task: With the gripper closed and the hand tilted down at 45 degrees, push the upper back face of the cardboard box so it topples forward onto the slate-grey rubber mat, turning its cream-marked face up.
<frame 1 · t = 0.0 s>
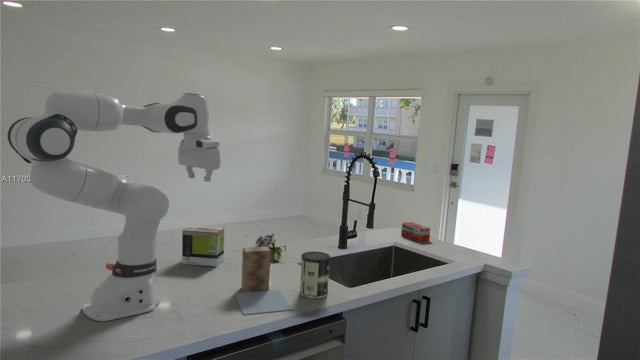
hand: (199, 179, 154), 39 cm above the worktop, fingers open, 8 cm apart
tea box: (203, 262, 185), on the worktop
coffee can: (313, 293, 158), on the worktop
passion flower: (269, 257, 197), on the worktop
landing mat: (262, 302, 147), on the worktop
medicine box: (414, 238, 247), on the worktop
cardboard box: (255, 289, 158), on the worktop
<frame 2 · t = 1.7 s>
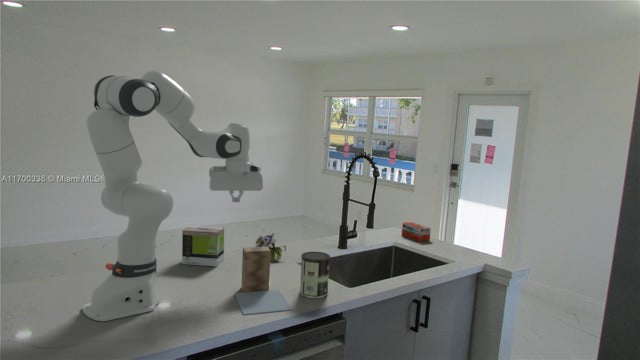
hand: (235, 202, 168), 29 cm above the worktop, fingers closed
nothing on the worktop moved.
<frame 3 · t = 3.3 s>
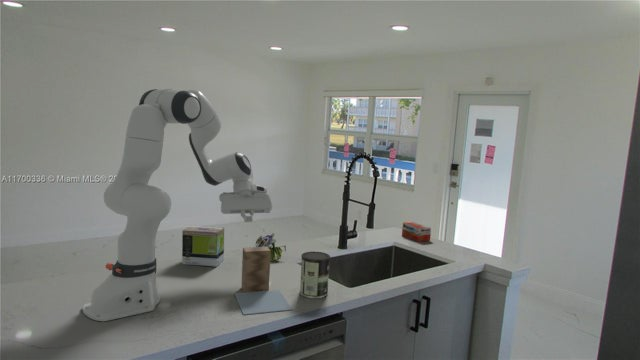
hand: (248, 221, 170), 22 cm above the worktop, fingers closed
nothing on the worktop moved.
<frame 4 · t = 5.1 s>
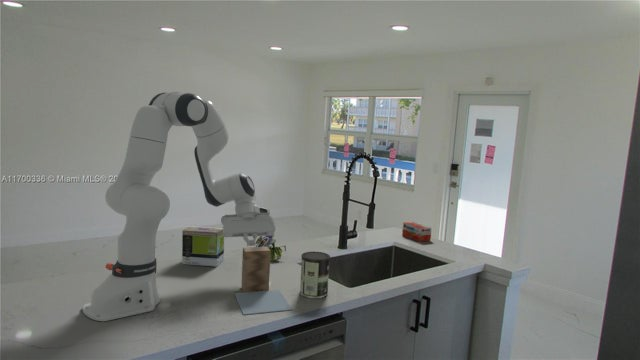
hand: (251, 245, 165), 14 cm above the worktop, fingers closed
nothing on the worktop moved.
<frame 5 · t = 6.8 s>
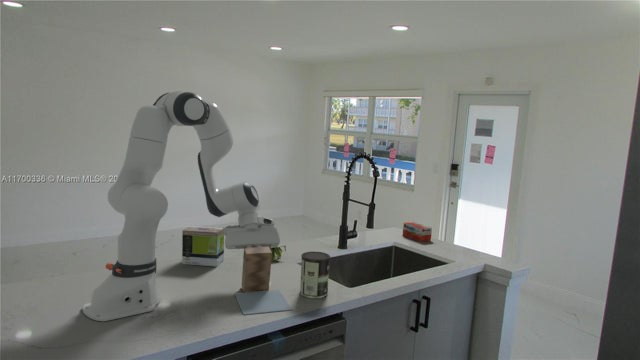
hand: (255, 257, 158), 11 cm above the worktop, fingers closed
cardboard box: (255, 288, 158), on the worktop, tilted 8°, touching gripper
everything else where it was.
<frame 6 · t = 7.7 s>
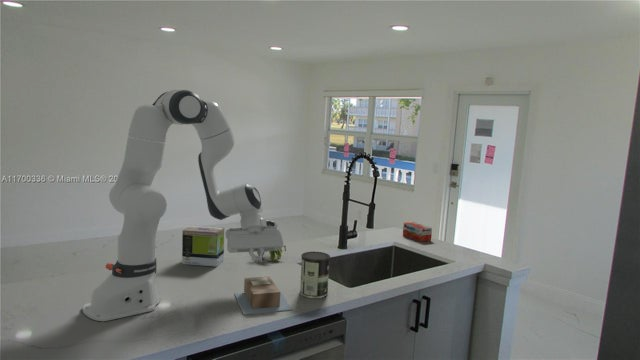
hand: (257, 261, 154), 11 cm above the worktop, fingers closed
cardboard box: (256, 284, 156), point 3 cm above the worktop, tilted 90°, touching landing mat
everything else where it was.
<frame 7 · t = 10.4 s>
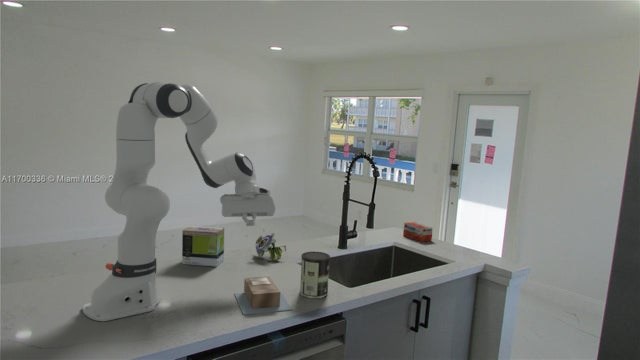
hand: (250, 225, 163), 22 cm above the worktop, fingers closed
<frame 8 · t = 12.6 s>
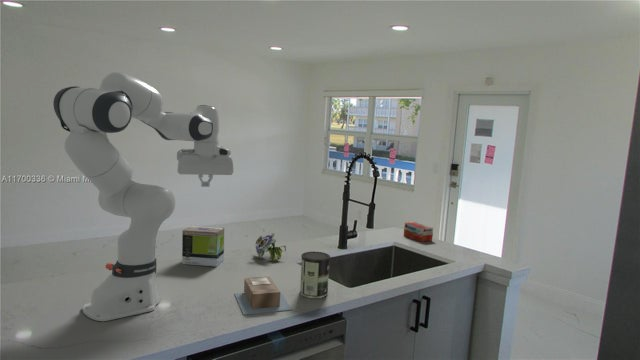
hand: (205, 186, 164), 35 cm above the worktop, fingers closed
at the end: cardboard box tilted 90°; cardboard box touching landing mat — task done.
